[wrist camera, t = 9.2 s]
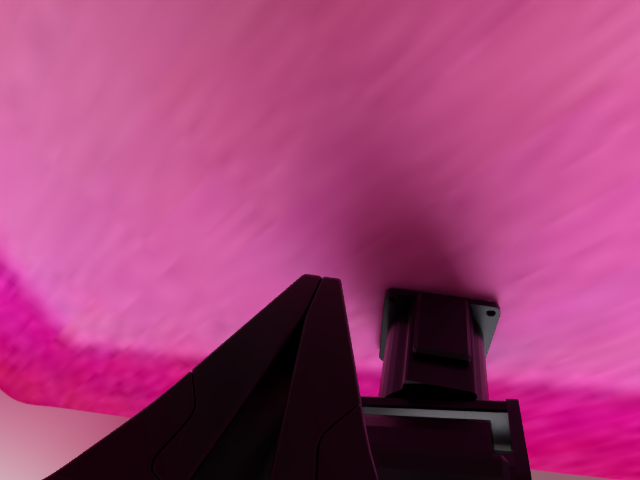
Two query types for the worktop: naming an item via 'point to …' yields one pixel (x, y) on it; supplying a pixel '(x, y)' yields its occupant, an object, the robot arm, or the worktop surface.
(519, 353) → the worktop surface
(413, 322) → the robot arm
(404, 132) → the worktop surface
